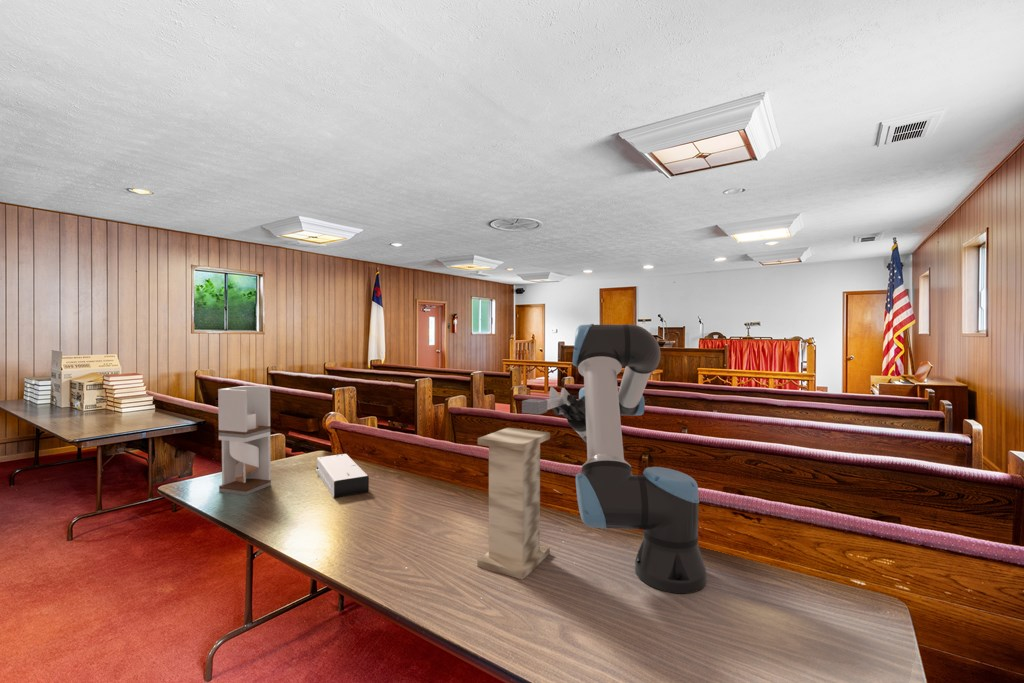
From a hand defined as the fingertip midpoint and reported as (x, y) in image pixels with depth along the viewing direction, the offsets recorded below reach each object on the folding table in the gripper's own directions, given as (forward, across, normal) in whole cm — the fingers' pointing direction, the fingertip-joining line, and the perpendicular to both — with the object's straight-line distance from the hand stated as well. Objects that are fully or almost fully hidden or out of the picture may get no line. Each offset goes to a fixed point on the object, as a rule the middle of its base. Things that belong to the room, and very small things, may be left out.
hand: (556, 391), depth 132 cm
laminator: (-15, +84, -36) cm, 92 cm away
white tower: (+4, +106, -46) cm, 116 cm away
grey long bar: (+2, 0, -5) cm, 6 cm away
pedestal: (+2, 0, -45) cm, 45 cm away
